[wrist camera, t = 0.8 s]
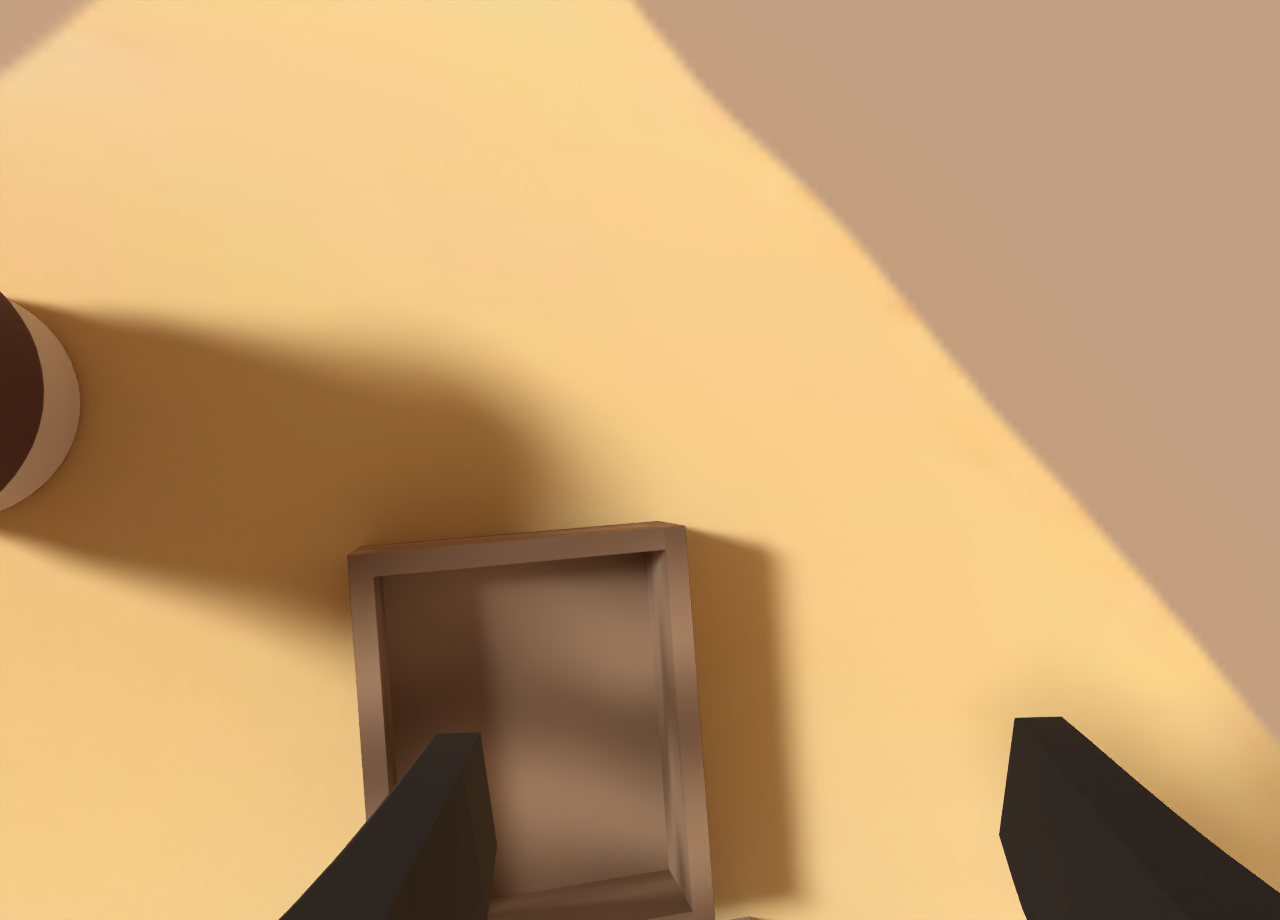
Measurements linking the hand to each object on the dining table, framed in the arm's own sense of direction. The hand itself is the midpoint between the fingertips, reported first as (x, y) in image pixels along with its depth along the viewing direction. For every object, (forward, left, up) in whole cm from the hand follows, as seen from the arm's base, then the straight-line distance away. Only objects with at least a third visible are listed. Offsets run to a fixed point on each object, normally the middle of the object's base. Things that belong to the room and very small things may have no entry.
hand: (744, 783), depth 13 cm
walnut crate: (-4, +2, -21) cm, 21 cm away
